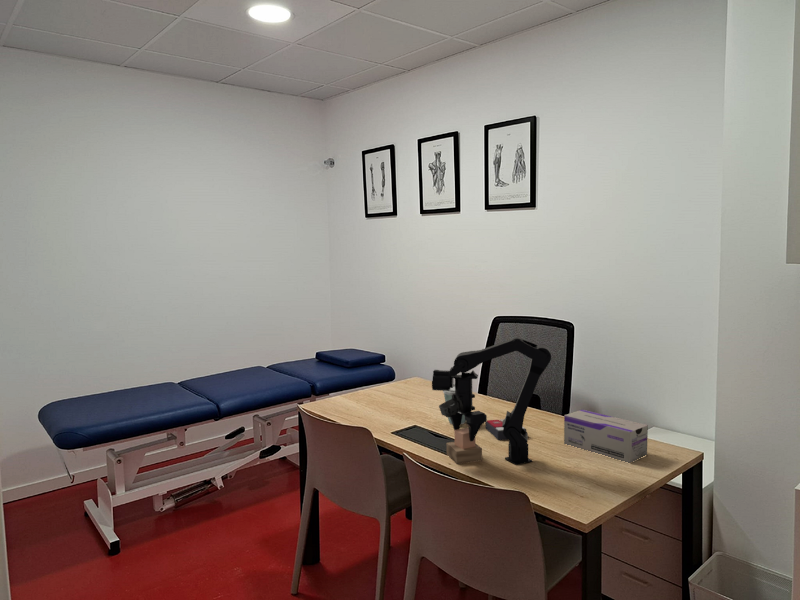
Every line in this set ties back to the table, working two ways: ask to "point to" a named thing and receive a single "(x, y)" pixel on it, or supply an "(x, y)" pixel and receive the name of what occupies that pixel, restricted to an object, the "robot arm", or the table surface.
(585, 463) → the table surface
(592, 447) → the surgical sutures box
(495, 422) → the calculator
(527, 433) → the robot arm
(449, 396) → the disposable coffee cup
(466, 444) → the terracotta cube
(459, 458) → the walnut block
